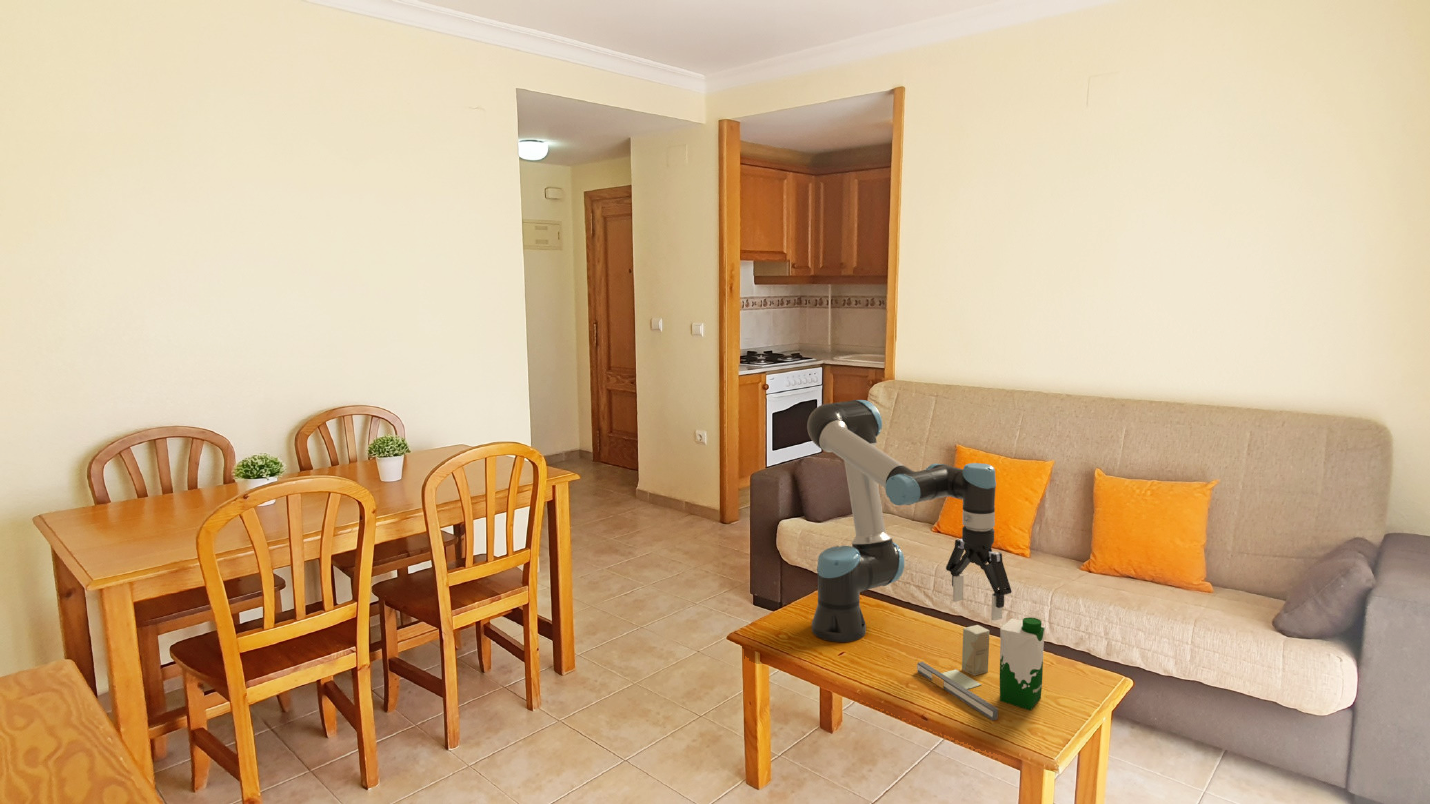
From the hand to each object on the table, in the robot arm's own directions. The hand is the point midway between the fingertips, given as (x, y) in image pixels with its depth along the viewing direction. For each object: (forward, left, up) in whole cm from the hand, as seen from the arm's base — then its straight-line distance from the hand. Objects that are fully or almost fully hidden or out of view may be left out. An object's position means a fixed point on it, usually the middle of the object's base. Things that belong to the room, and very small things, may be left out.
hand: (976, 609), depth 203 cm
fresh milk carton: (+16, -1, -16) cm, 23 cm away
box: (0, 0, -16) cm, 16 cm away
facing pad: (+2, -8, -16) cm, 18 cm away
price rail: (+7, -13, -16) cm, 22 cm away
